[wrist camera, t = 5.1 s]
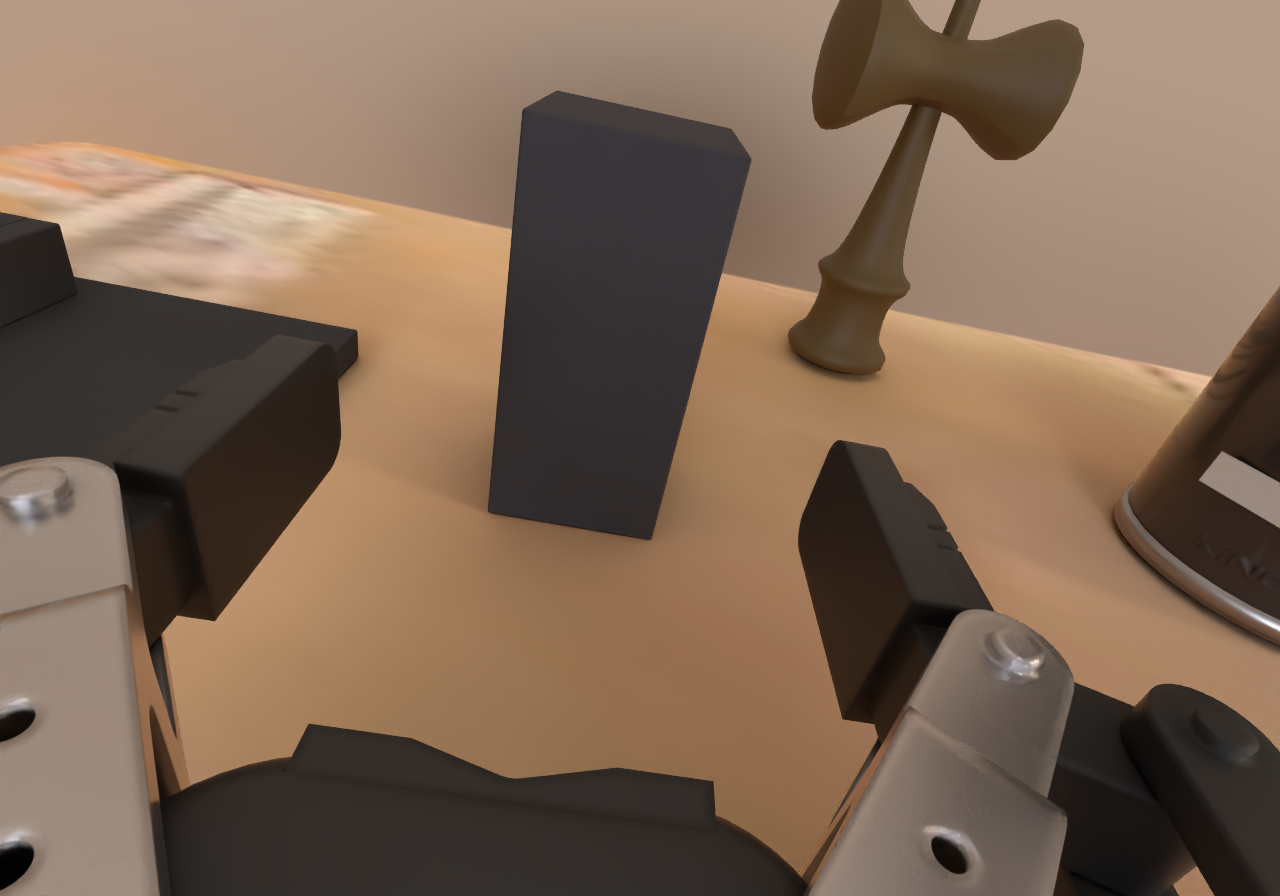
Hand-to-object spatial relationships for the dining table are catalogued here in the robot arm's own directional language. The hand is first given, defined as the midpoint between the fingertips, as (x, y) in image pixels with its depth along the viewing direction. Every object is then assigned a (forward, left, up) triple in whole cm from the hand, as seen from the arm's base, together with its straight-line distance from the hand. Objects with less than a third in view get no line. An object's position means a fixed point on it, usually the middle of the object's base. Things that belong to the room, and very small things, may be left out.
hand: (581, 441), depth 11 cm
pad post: (-6, -6, -7) cm, 11 cm away
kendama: (-25, -8, -7) cm, 28 cm away
